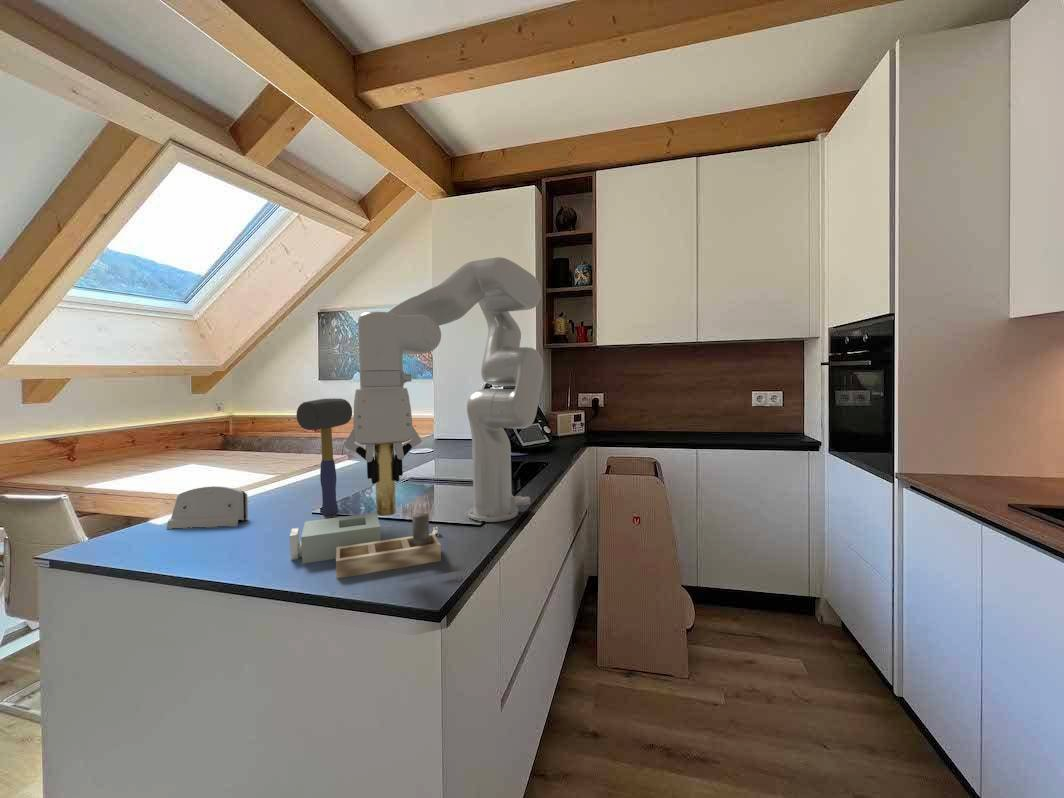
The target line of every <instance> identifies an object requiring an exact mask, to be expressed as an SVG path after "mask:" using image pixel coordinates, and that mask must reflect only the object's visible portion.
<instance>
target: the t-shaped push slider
mask: <svg viewBox="0 0 1064 798" xmlns="http://www.w3.org/2000/svg"><path fill="white" fill-rule="evenodd" d="M289 545H290V547H289V549H290V551H289V552H290V560H291V561H294V560H299V558H302V545H301V541H300V528H299V527H295V528H294V527H293V528H291V530H290V533H289Z"/></svg>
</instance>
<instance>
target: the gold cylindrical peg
mask: <svg viewBox="0 0 1064 798" xmlns="http://www.w3.org/2000/svg"><path fill="white" fill-rule="evenodd" d="M373 452H374V460H375V462H376V483H375V502H376V503H375V505H376V508H375V509H376V513H377V516H378V517H380V516H381V517H388V516H392V515H395V514H396V513H397V507H396V500H397V499H396V481H395V473H394V455H395V448H394V443H387V444H374V451H373Z"/></svg>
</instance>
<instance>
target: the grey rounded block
mask: <svg viewBox="0 0 1064 798" xmlns="http://www.w3.org/2000/svg"><path fill="white" fill-rule="evenodd" d="M248 500H249V499H248V494H247V492H245V491H243V490H241V489H237V488H234V487H228V486H220V485H219V486H212V485H211V486H204V487H197V488H191V489H189V490H187V491H184V492H180V493H179V494H178V495H177V497H176V501H175V503H174V507H173V509H172V513H171V517H170V518H169V519H168V520H167V523H166V530H173V529H172V528H183V529H188V528H187V527H190V528H189V529H193V528H192V527H206V528H218V527H217V526H229V527H238V526H237V525H239V521H238V520H241V521H248V520H249V517H248V516H249V514H248V513H249V512H248V510H249V508H248V504H249V503H248ZM247 519H248V520H247Z"/></svg>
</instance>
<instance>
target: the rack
mask: <svg viewBox="0 0 1064 798" xmlns="http://www.w3.org/2000/svg"><path fill="white" fill-rule="evenodd" d="M429 516H430V515H429V513H427V512H418V513H413V515H412V516H411V517H412V535H411V536H402V537H398V538H396V537H395V538H391V539H383V540H381V541H376V542H369V543H362V544H355V545H348V546H341V547H336V559H335V568H336V579H341V578H347V577H353V576H360V575H366V574H371V573H378V572H383V571H388V570H393V569H395V570H396V569H402V568H406V567H411V566H419V565H425V564H431V563H436V562H442V549H441V548H442V547H441V546H442V545H441V543H440V540H438V537H437V535H436V536H435V534H434V533H430V521H429V520H430V519H429Z"/></svg>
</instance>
